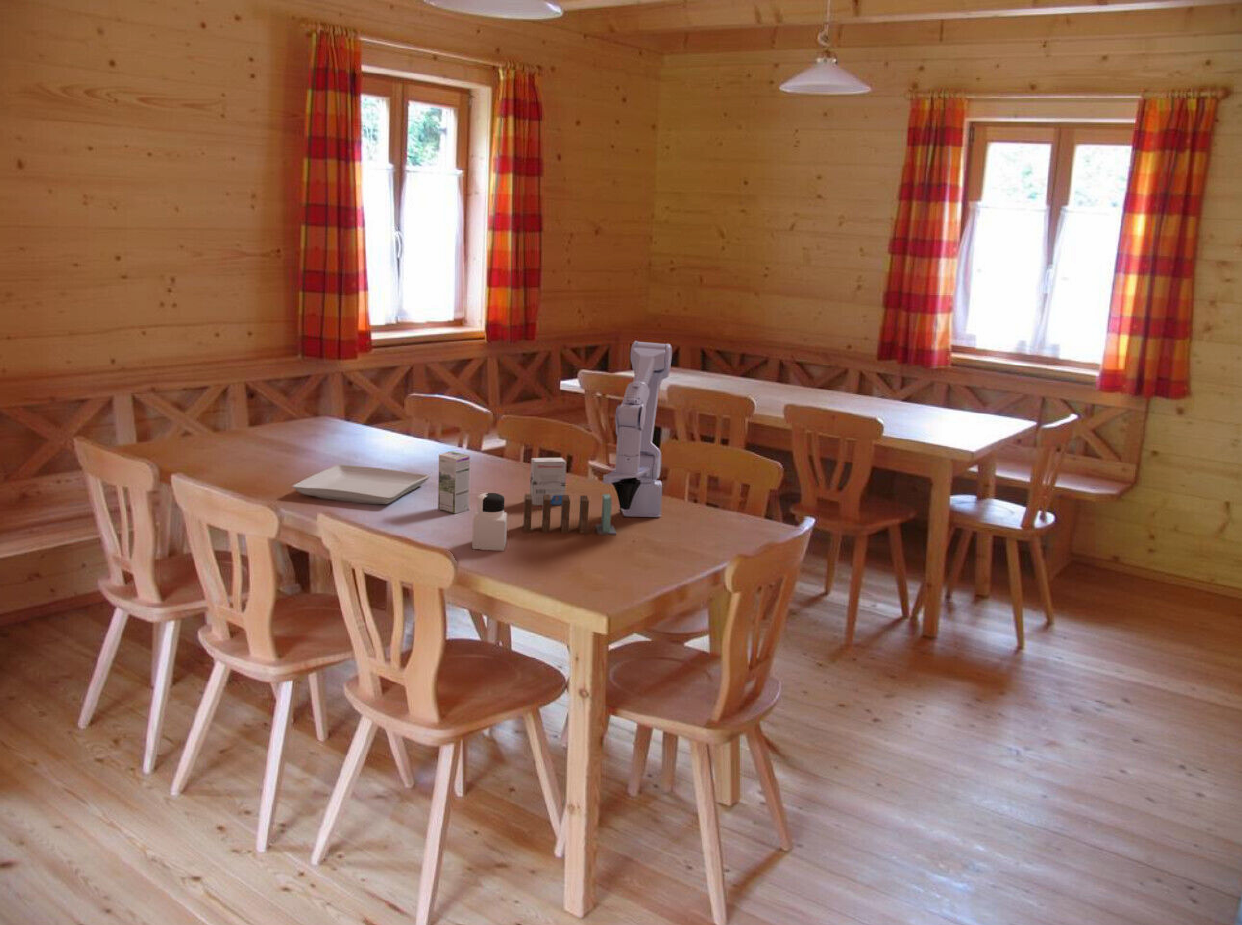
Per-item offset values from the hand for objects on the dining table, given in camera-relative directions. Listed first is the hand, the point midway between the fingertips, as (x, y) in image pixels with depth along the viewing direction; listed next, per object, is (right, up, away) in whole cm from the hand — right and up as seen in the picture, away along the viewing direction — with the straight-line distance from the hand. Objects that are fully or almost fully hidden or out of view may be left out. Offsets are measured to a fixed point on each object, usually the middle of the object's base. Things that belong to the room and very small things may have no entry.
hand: (624, 508), depth 265 cm
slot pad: (-5, -5, +1) cm, 7 cm away
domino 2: (-19, -5, -1) cm, 20 cm away
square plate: (-69, +3, +23) cm, 73 cm away
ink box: (-20, 0, +22) cm, 30 cm away
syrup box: (-43, -1, +11) cm, 44 cm away
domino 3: (-15, -5, -1) cm, 15 cm away
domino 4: (-10, -5, 0) cm, 11 cm away
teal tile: (-5, -5, +1) cm, 7 cm away
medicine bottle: (-31, -8, -16) cm, 36 cm away
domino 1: (-24, -5, -2) cm, 24 cm away
